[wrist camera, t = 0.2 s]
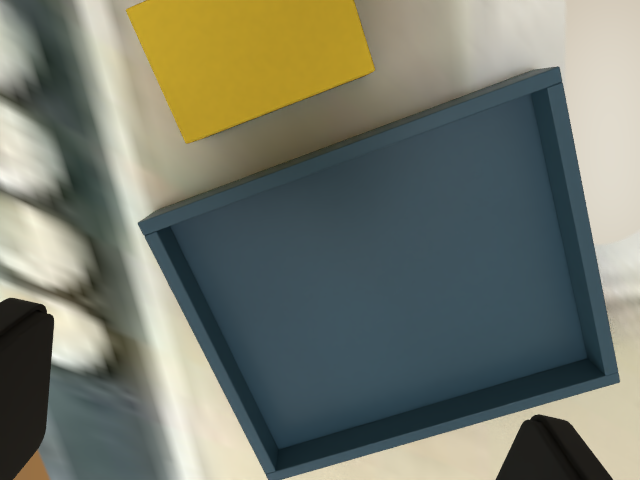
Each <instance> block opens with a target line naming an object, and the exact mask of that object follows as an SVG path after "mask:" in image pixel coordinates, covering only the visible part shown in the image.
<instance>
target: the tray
mask: <svg viewBox="0 0 640 480" xmlns="http://www.w3.org/2000/svg"><path fill="white" fill-rule="evenodd" d="M138 225H139V227H140V229H141V231H142V233H143V235H145V239H146V240H147V242H148V244H149V246H150V248H151V250H152V252H153V254H154V256H155V258H156V260H157V262H158V264H159V266H160V268H161V270H162V272H163V274H164V276H165V278H166V280H167V282H168V284H169V286H170V288H171V290H172V292H173V293H174V295H175V297H176V299H177V301H178V303H179V305H180V307H181V309H182V311H183V313H184V315H185V317H186V319H187V321H188V323H189V325H190V327H191V329H192V331H193V333H194V335H195V337H196V339H197V341H198V343H199V344H200V346H201V348H202V350H203V352H204V354H205V356H206V358H207V360H208V362H209V364H210V366H211V368H212V370H213V372H214V374H215V376H216V378H217V380H218V382H219V384H220V386H221V388H222V390H223V392H224V394H225V396H226V397H227V399H228V401H229V403H230V405H231V407H232V409H233V411H234V413H235V415H236V417H237V419H238V421H239V423H240V425H241V427H242V429H243V431H244V433H245V435H246V437H247V439H248V441H249V443H250V445H251V447H252V448H253V450H254V452H255V454H256V456H257V458H258V460H259V462H260V464H261V466H262V468H263V470H264V472H265V474H266V476H267V478H268V480H282V479H285V478H289V477H292V476H296V475H299V474H303V473H306V472H310V471H313V470H317V469H320V468H324V467H327V466H331V465H334V464H338V463H341V462H344V461H348V460H351V459H355V458H358V457H362V456H365V455H369V454H372V453H376V452H379V451H383V450H386V449H390V448H393V447H397V446H400V445H404V444H407V443H411V442H414V441H418V440H421V439H425V438H428V437H431V436H435V435H438V434H442V433H445V432H449V431H452V430H456V429H459V428H463V427H466V426H470V425H473V424H477V423H480V422H484V421H487V420H491V419H494V418H498V417H501V416H505V415H508V414H512V413H515V412H518V411H522V410H525V409H529V408H532V407H536V406H539V405H543V404H546V403H550V402H553V401H557V400H560V399H564V398H567V397H571V396H574V395H578V394H581V393H585V392H588V391H592V390H595V389H598V388H602V387H605V386H609V385H612V384H616V383H619V382H620V379H619V374H618V368H617V363H616V357H615V352H614V347H613V342H612V337H611V332H610V326H609V321H608V316H607V311H606V306H605V300H604V295H603V290H602V285H601V280H600V274H599V269H598V264H597V259H596V254H595V248H594V243H593V239H592V233H591V228H590V222H589V218H588V213H587V207H586V202H585V197H584V191H583V186H582V181H581V176H580V171H579V166H578V160H577V155H576V150H575V145H574V139H573V134H572V129H571V124H570V119H569V113H568V109H567V103H566V98H565V93H564V88H563V83H562V78H561V73H560V68H559V67H551V68H544V69H536V70H532V71H529V72H527V73H524V74H521V75H519V76H516V77H513V78H511V79H508V80H505V81H503V82H500V83H497V84H494V85H492V86H489V87H486V88H484V89H481V90H478V91H476V92H473V93H470V94H468V95H465V96H462V97H460V98H457V99H454V100H452V101H449V102H446V103H444V104H441V105H438V106H435V107H433V108H430V109H427V110H425V111H422V112H419V113H417V114H414V115H411V116H409V117H406V118H403V119H401V120H398V121H395V122H393V123H390V124H387V125H385V126H382V127H379V128H376V129H374V130H371V131H368V132H366V133H363V134H360V135H358V136H355V137H352V138H350V139H347V140H344V141H342V142H339V143H336V144H334V145H331V146H328V147H326V148H323V149H320V150H318V151H315V152H312V153H309V154H307V155H304V156H301V157H299V158H296V159H293V160H291V161H288V162H285V163H283V164H280V165H277V166H275V167H272V168H269V169H267V170H264V171H261V172H259V173H256V174H253V175H250V176H248V177H245V178H242V179H240V180H237V181H234V182H232V183H229V184H226V185H224V186H221V187H218V188H216V189H213V190H210V191H208V192H205V193H202V194H200V195H197V196H194V197H192V198H189V199H186V200H183V201H181V202H178V203H175V204H173V205H170V206H167V207H165V208H162V209H159V210H157V211H155V212H153V213H152V214H150V215H149V216H147V217H146V218H144V219H143V220H141V221H140V222H138Z"/></svg>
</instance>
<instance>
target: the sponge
mask: <svg viewBox="0 0 640 480" xmlns="http://www.w3.org/2000/svg"><path fill="white" fill-rule="evenodd" d="M126 12H127V14H128V16H129V19H130V21H131V23H132V25H133V27H134V30H135V32H136V34H137V36H138V39H139V41H140V43H141V45H142V47H143V50H144V52H145V54H146V56H147V59H148V61H149V63H150V65H151V67H152V70H153V72H154V74H155V76H156V78H157V81H158V83H159V85H160V87H161V90H162V92H163V94H164V96H165V98H166V101H167V103H168V105H169V107H170V110H171V112H172V114H173V116H174V118H175V121H176V123H177V125H178V127H179V130H180V132H181V134H182V136H183V138H184V141H185V143H186V144H188V143H191V142H194V141H197V140H200V139H203V138H206V137H209V136H211V135H214V134H217V133H219V132H222V131H224V130H227V129H229V128H232V127H235V126H237V125H240V124H242V123H245V122H247V121H250V120H253V119H255V118H258V117H260V116H263V115H265V114H268V113H271V112H273V111H276V110H278V109H281V108H284V107H286V106H289V105H291V104H294V103H296V102H299V101H302V100H304V99H307V98H309V97H312V96H314V95H317V94H320V93H322V92H325V91H327V90H330V89H332V88H335V87H338V86H340V85H343V84H345V83H348V82H351V81H353V80H356V79H358V78H361V77H363V76H366V75H368V74H370V73H372V72H373V71H375V67H374V64H373V61H372V57H371V54H370V51H369V48H368V44H367V41H366V38H365V35H364V32H363V28H362V25H361V22H360V19H359V15H358V12H357V9H356V6H355V2H354V0H146V1H144V2H142V3H139V4H137V5H135V6H132V7H130V8H128V9H126Z"/></svg>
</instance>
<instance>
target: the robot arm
mask: <svg viewBox="0 0 640 480" xmlns="http://www.w3.org/2000/svg"><path fill="white" fill-rule="evenodd" d="M53 330H54V318H53V316H52V315H51V314H47V310H46V307H45V306H44V305H43V304H38V303H34V302H29V301H25V300H20V299H16V298H8V299H6V300H4V301H2V302H0V480H13V479H14V478H15V477H16V475H17V474H18V473H19V472H20V470H21V469H22V468H23V467H24V466H25V464H26V463H27V462H28V461H29V459H30V458H31V457H32V456H33V454H34V453H35V452H36V451H37V449H38V448H39V446H40V444H41V443H42V440H43V438H44V435H45V431H46V422H47V408H48V395H49V382H50V369H51V356H52V343H53ZM496 480H613V479H612V477H611V476H610V475H609V474H608V472H607V471H606V470H605V468H604V467H603V466H602V464H601V463H600V462H599V460H598V459H597V458H596V456H595V455H594V454H593V453H592V451H591V450H590V449H589V447H588V446H587V445H586V443H585V442H584V441H583V439H582V438H581V437H580V435H579V434H578V433H577V432H576V430H575V429H574V428H573V426H572V425H571V424H570V423H569V422H568V421H565V420H562V419H557V418H553V417H548V416H544V415H534V416H533V417H532V418H531V419H530V420H526V421H524V422H523V423H522V425H521V427H520V429H519V431H518V433H517V435H516V438H515V440H514V442H513V444H512V446H511V448H510V450H509V453H508V455H507V457H506V459H505V461H504V463H503V465H502V467H501V470H500V472H499V474H498V476H497V478H496Z"/></svg>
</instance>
